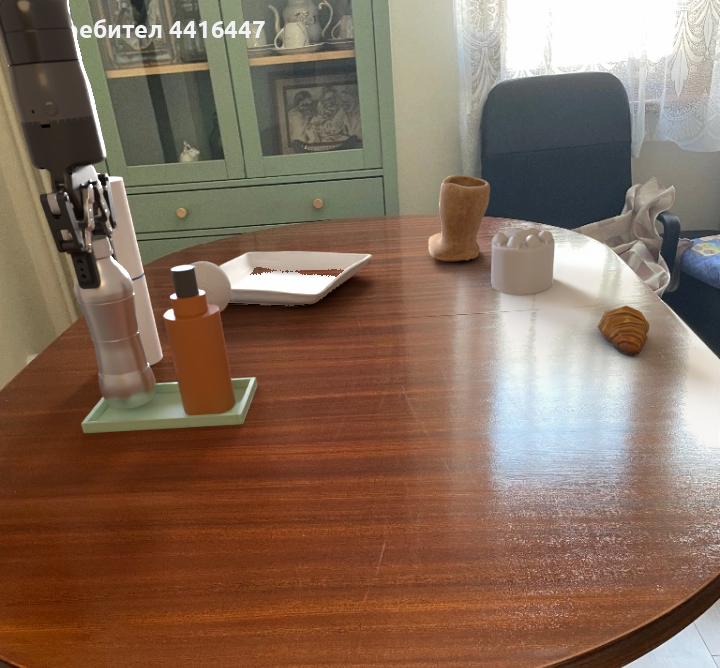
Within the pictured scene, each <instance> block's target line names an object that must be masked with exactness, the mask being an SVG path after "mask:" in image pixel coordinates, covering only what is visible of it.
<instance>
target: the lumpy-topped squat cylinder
mask: <svg viewBox="0 0 720 668" xmlns="http://www.w3.org/2000/svg"><path fill="white" fill-rule="evenodd" d="M555 243H556V242H555V238H554V236H553V233H552V232H551V231H550V230H547V229H545V230H542V231H541V230H540V229H538V228H537V227H523V228H519V227H514V228H508V229H506V230H505V231H503V232H497V233H496V234H495V235H494V236H493V237H492V239H491V259H490V260H491V263H490V265H491V267H490V269H491V270H490V276H491V277H490V285H491V284H492V286H491V288H492V287H494V288H495V289H494V288H493V289H494V290H496V289H498V290H499V291H498V290H497V291H498V292H500V291H502V292H501V293H504V294H510V295H517V296H525V295H534V294H537V293H541V292H544V291H546V290H549V288H551V287H552V286H553V280H554V261H555V248H556V247H555V246H556V244H555Z"/></svg>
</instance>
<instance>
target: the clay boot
mask: <svg viewBox="0 0 720 668" xmlns="http://www.w3.org/2000/svg"><path fill="white" fill-rule="evenodd" d="M490 194H491V185H490V183H489V182H488V181H487V180H485V179H482V178H478V177H476V176H471V175H463V174H453V175H449V176H447V177H445V178H444V179H443V181H442V183H441V185H440V191H439V201H438V212H439V218H440V226H441V232H438V233H437V232H436V233H435V234H432V235H431V236H430V237H429V238H428V244H427V245H428V253H429V255H430V257H431V258H432V259H434V260H435V261H439V260H441V261H440V262H464V261H463V260H465V261H470V260H469V259H472V260H475V259H476V258H477V257H478V256H479V254H480V245H479V244H478V242H477V236H478V232H479V231H480V230H479V229H480V226H481V224H482V222H483V219H484V216H485V214H486V213H487V209H488V207H489V203H490ZM460 260H461V261H460Z"/></svg>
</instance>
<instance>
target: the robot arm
mask: <svg viewBox="0 0 720 668" xmlns="http://www.w3.org/2000/svg"><path fill="white" fill-rule="evenodd" d="M69 4H70V3H69V0H0V46H1V51H2V54H3V57H4V61H5V64H6V66H7V67H6V68H7V72H8V76H9V77H8V78H9V84H10V90H11V94H12V98H13V102H14V105H15V109H16V112H17V116H18V120H19V124H20V128H21V130H22V134H23V137H24V138H23V139H24V141H25V145H26V148H27V152H28V156H29V160H30V162H31V163H30V164H31V165H32V166H33V167H34V168H35V169H37V170H41V171H43V170H46V171H48V173H49V179H50V186H51V187H50V188H51V192H48V193H46V192H45V193H40V195H39V202H40V204H41V207H42V211H43V213H44V216H45V218H46V221H47V224H48V227H49V229H50V233H51V235H52V238H53V241H54V244H55V246H56V249H57V251H58V252H59V253H60V254H62V253H66V255H67V256H68V255H70V258H71V262H72V265H73V268H74V272H75V277H76V276H77V280H78V283H79V286H80V288H82V289H95V288H98V287H99V286H100V285H101V281H100V277H99V274H98V270H97V266H96V262H95V258H94V254H93V252H92V245H91V236H94V235H106V236H108V238H109V242H110V246H111V248H112V250H113V254H111V257H112V259H113V260H115V261H116V262H117V263H118V261H117V257H116V253H115V249H114V245H113V241H112V239H111V238H113V236H114V231H113V229H116V228H117V220H116V215H115V209H114V204H113V198H112V192H111V187H110V181H109V177H110V176H109V175H108V173H107V172H105V173H97V172H96V169H95V166H94V165H97V164H100V163H102V162H104V161H105V160H106V159H107V151H106V147H105V142H104V139H103V134H102V130H101V126H100V121H99V117H98V113H97V110H96V108H97V107H96V104H95V99H94V96H93V92H92V88H91V83H90V81H89V78H88V76H87V73H86V71H85V67H84V64H83V63H84V62H83V61H82V56H81V52H80V48H79V44H78V40H77V39H78V38H77V34H76V31H75V25H74V22H73V19H72V15H71V12H70V6H69ZM98 208H99V210H98ZM77 221H79V222H77ZM80 232H82V236H81V233H80Z"/></svg>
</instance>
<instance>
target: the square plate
mask: <svg viewBox="0 0 720 668" xmlns="http://www.w3.org/2000/svg"><path fill="white" fill-rule="evenodd" d="M372 258H373V255H372V254H369V253H348V252H347V253H346V252H332V251H331V252H328V251H327V252H326V251H306V250H305V251H301V250H300V251H299V250H298V251H297V250H295V251H294V250H293V251H291V250H287V251H283V250H281V251H249V252H246V253H243V254H242V255H239V256H237V257H235V258H233V259H231V260H228V261H226V262H224V263H223V264H219V267H220V268H221V269H222V270H223V271H224V272H225V273H226V275H227V277H228V278H229V281H230V284H231V297H230V301H229V303H245V304H244V305H248V304H260V305H259V306H271V305H285V306H284V307H295V306H294V305H302V306H305V305H304V304H308V305H313V304H316V303H318V302H319V300H320V299H321V300H323V299H324V298H325V297H326V296H328V295H329V294H330V293H332V292H333V291H334V290H335V289H337V288H338V287H340V286H341V285H343V284H344V283H345V282H347V281H348V280H349V279H350V278H352V277H354V276H355V275H356V274H357V273H359V272H361V270H362V269H364V267H365V266H367V264H368V263H369V261H370V260H371V259H372ZM256 267H262V268H267V269H268V268H269V269H271V270H273V269H274V270H277V271H273V272H272V271H271V273H270V272H268V273H267V272H266V273H265V272H263V273H261V275H260V274H258V273H257V275H256V274H254V275H253V274H251V273H252V272H253V270H254V268H256ZM328 269H329V270H331V269H337V270H340V269H341V270H344V271H343V272H342V273H340V274H339V275H338V276H337V277H335V276H331V275H330V276H329V275H327V276H326V275H323V276H321V275H317V274H315V275H314V274H313V275H307V274H306V275H304V274H303V275H302V274H300V273H298V272H295V271H296V270H298V271H300V270H328ZM280 270H281V271H280ZM286 270H288V271H289V272H288V273H287V272H285V271H286ZM282 271H284V272H283V273H282ZM290 271H293V272H290ZM250 274H251V275H250ZM328 276H329V277H328ZM340 284H341V285H340ZM336 287H337V288H336ZM333 289H334V290H333ZM332 290H333V291H332ZM329 292H330V293H329ZM328 293H329V294H328ZM327 294H328V295H327ZM323 297H324V298H323ZM321 300H320V301H321ZM246 303H247V304H246ZM288 305H289V306H288Z"/></svg>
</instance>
